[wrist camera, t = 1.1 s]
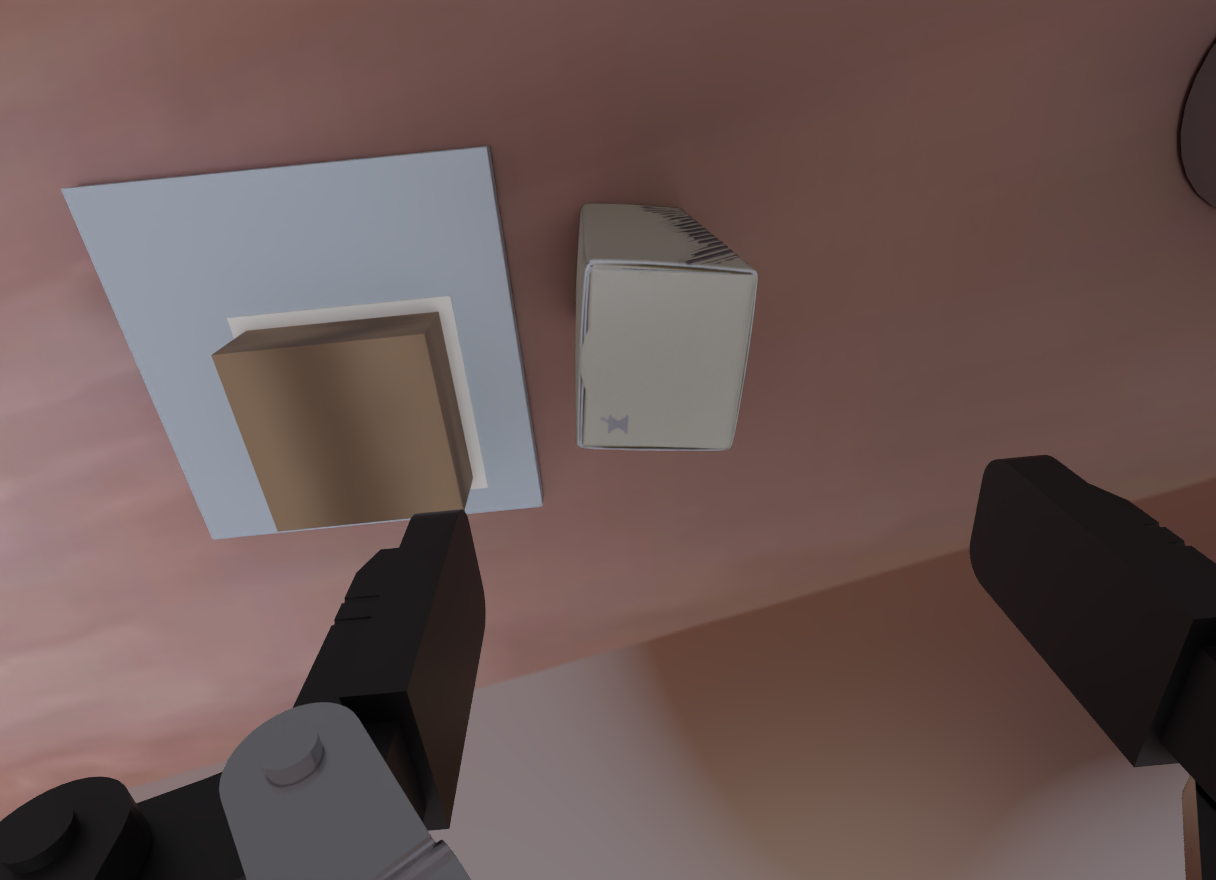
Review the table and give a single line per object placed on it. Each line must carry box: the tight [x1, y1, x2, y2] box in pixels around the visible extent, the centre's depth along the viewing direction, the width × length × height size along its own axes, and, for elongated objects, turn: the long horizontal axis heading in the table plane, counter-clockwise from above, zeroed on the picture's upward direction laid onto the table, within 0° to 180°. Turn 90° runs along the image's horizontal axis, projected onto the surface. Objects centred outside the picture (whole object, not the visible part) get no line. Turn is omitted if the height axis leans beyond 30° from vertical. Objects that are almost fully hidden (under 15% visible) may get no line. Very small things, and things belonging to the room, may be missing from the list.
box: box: [575, 204, 758, 451], centre depth 22 cm, size 5×4×13 cm
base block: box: [211, 312, 473, 532], centre depth 28 cm, size 8×8×3 cm
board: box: [61, 146, 543, 539], centre depth 29 cm, size 16×16×1 cm
